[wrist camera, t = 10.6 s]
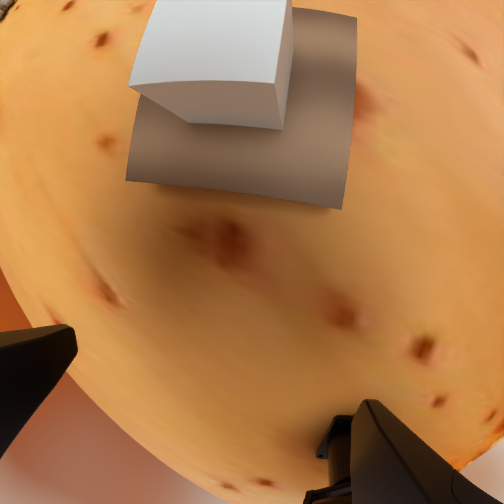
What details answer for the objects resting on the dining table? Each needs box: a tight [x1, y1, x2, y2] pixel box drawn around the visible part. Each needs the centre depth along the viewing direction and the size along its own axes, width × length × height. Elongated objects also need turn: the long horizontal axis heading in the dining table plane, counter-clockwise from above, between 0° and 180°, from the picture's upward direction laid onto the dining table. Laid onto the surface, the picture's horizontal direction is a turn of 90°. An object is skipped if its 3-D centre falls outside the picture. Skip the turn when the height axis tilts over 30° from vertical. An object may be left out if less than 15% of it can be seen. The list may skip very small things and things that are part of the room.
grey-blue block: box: [128, 0, 293, 130], centre depth 9 cm, size 5×5×6 cm
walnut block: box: [125, 7, 357, 210], centre depth 14 cm, size 12×12×4 cm
